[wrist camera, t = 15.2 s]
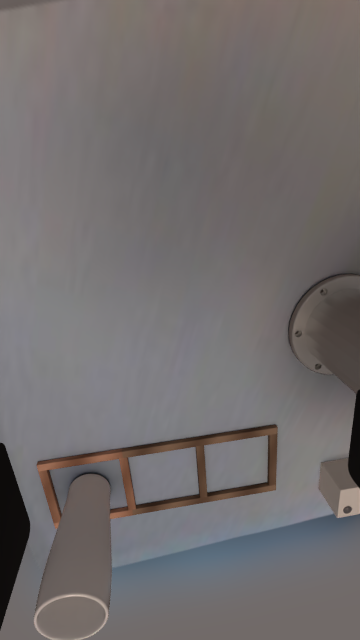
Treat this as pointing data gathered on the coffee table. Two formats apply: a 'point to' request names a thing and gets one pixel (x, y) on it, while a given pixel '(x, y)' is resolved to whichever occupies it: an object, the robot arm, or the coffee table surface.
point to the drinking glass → (78, 565)
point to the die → (339, 488)
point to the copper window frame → (162, 447)
